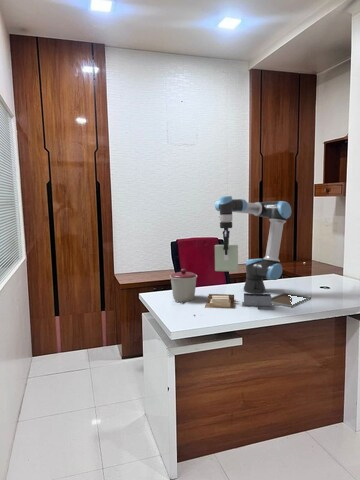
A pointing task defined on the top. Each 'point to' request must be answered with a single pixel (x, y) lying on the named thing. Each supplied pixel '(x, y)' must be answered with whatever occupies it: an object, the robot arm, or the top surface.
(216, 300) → the offcut upper
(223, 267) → the panel
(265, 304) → the stand
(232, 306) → the rack
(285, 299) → the grey brown flat board
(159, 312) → the top surface
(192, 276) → the canister
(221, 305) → the offcut lower
